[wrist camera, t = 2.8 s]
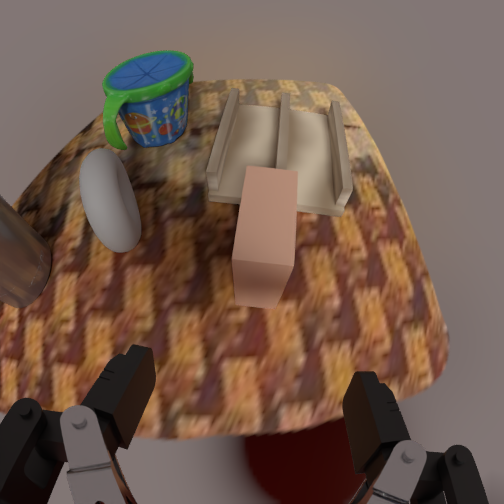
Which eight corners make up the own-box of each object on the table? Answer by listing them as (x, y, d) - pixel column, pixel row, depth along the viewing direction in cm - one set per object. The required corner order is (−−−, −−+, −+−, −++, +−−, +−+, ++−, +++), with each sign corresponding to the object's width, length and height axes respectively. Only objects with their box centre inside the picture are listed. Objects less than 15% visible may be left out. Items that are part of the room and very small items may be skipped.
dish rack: (209, 201, 30) (204, 175, 26) (232, 110, 36) (232, 86, 33) (341, 217, 29) (353, 193, 26) (332, 122, 36) (338, 99, 32)
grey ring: (110, 197, 30) (75, 135, 21) (137, 187, 30) (108, 121, 21) (121, 274, 26) (72, 222, 17) (153, 263, 26) (115, 204, 17)
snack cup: (168, 94, 38) (158, 39, 29) (224, 109, 37) (222, 47, 27) (96, 158, 32) (68, 100, 23) (152, 183, 31) (126, 115, 21)
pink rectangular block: (235, 304, 25) (231, 258, 16) (245, 235, 28) (246, 165, 19) (275, 309, 25) (293, 265, 16) (280, 239, 28) (297, 171, 19)
